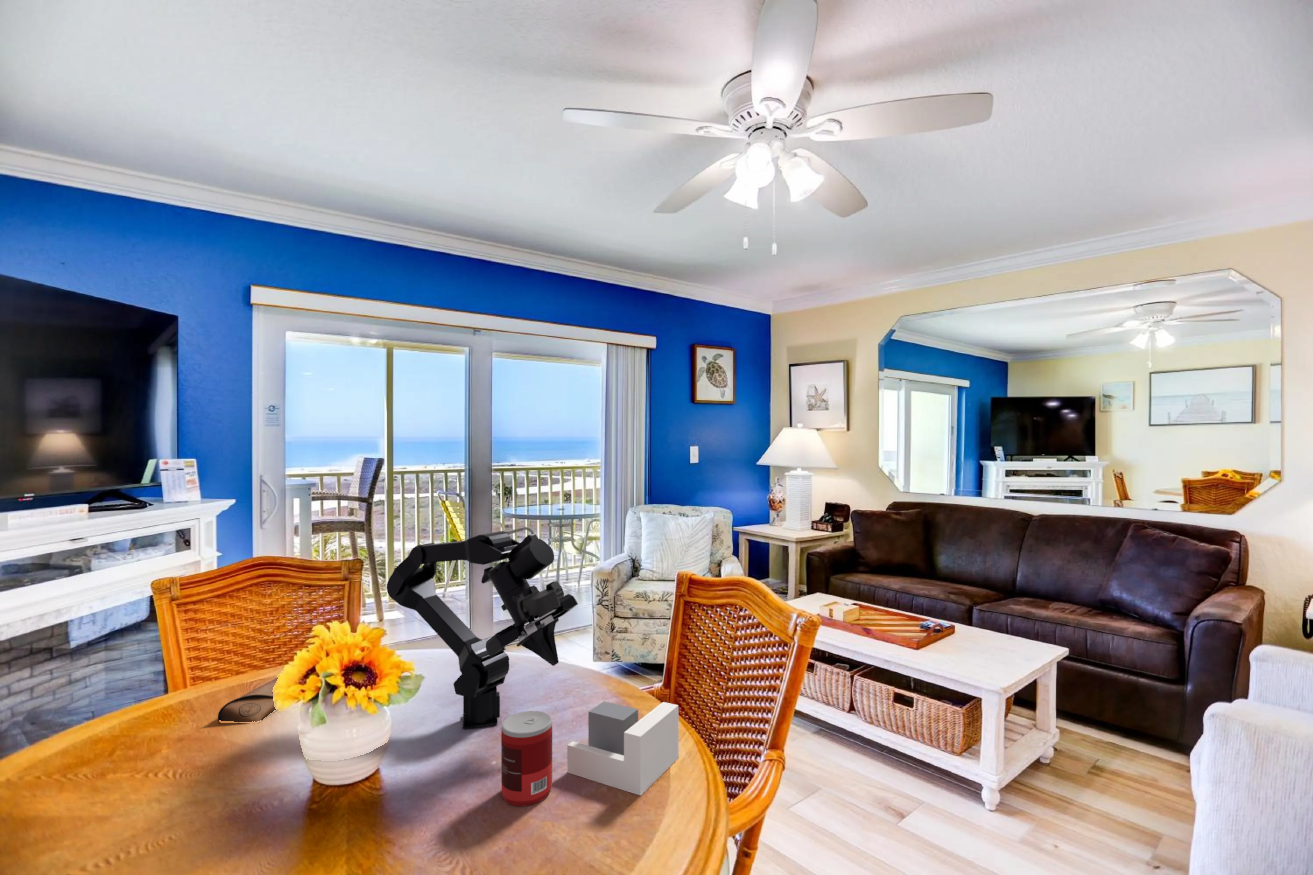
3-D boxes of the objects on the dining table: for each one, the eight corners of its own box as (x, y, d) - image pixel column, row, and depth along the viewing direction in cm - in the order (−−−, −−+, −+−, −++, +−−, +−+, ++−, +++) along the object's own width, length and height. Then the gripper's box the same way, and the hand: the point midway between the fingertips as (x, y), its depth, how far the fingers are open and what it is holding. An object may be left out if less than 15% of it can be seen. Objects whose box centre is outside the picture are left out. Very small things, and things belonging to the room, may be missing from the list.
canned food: (557, 779, 98) (557, 711, 98) (543, 808, 90) (543, 734, 90) (511, 777, 99) (511, 709, 99) (493, 806, 91) (493, 732, 91)
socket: (567, 772, 100) (567, 717, 100) (610, 739, 112) (610, 689, 112) (640, 795, 94) (640, 736, 94) (678, 757, 105) (678, 705, 105)
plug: (588, 761, 103) (588, 711, 103) (604, 749, 107) (604, 701, 108) (636, 776, 99) (636, 723, 99) (651, 762, 103) (650, 712, 103)
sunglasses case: (258, 723, 118) (242, 693, 118) (228, 741, 118) (212, 711, 119) (315, 687, 136) (301, 661, 136) (289, 703, 136) (274, 677, 137)
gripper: (493, 593, 104) (538, 675, 101) (571, 556, 118) (613, 626, 115) (467, 617, 111) (508, 695, 107) (544, 579, 125) (582, 646, 122)
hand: (556, 664), depth 113 cm, fingers closed
